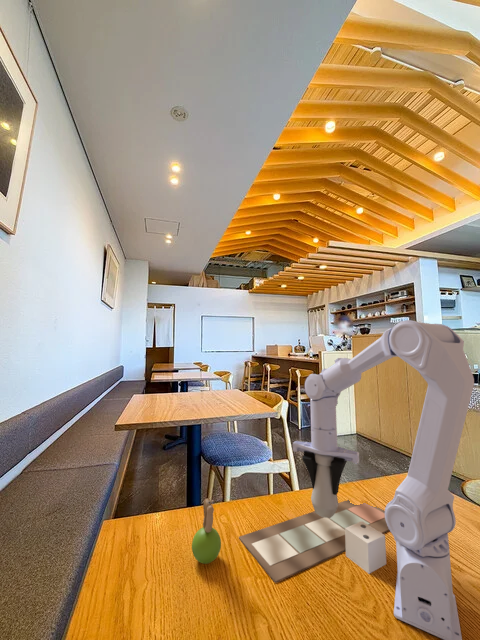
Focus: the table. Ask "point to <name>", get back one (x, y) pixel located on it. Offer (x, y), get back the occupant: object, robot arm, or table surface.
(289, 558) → the game board
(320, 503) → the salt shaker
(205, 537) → the green ball handle toy
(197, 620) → the table surface
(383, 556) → the die
